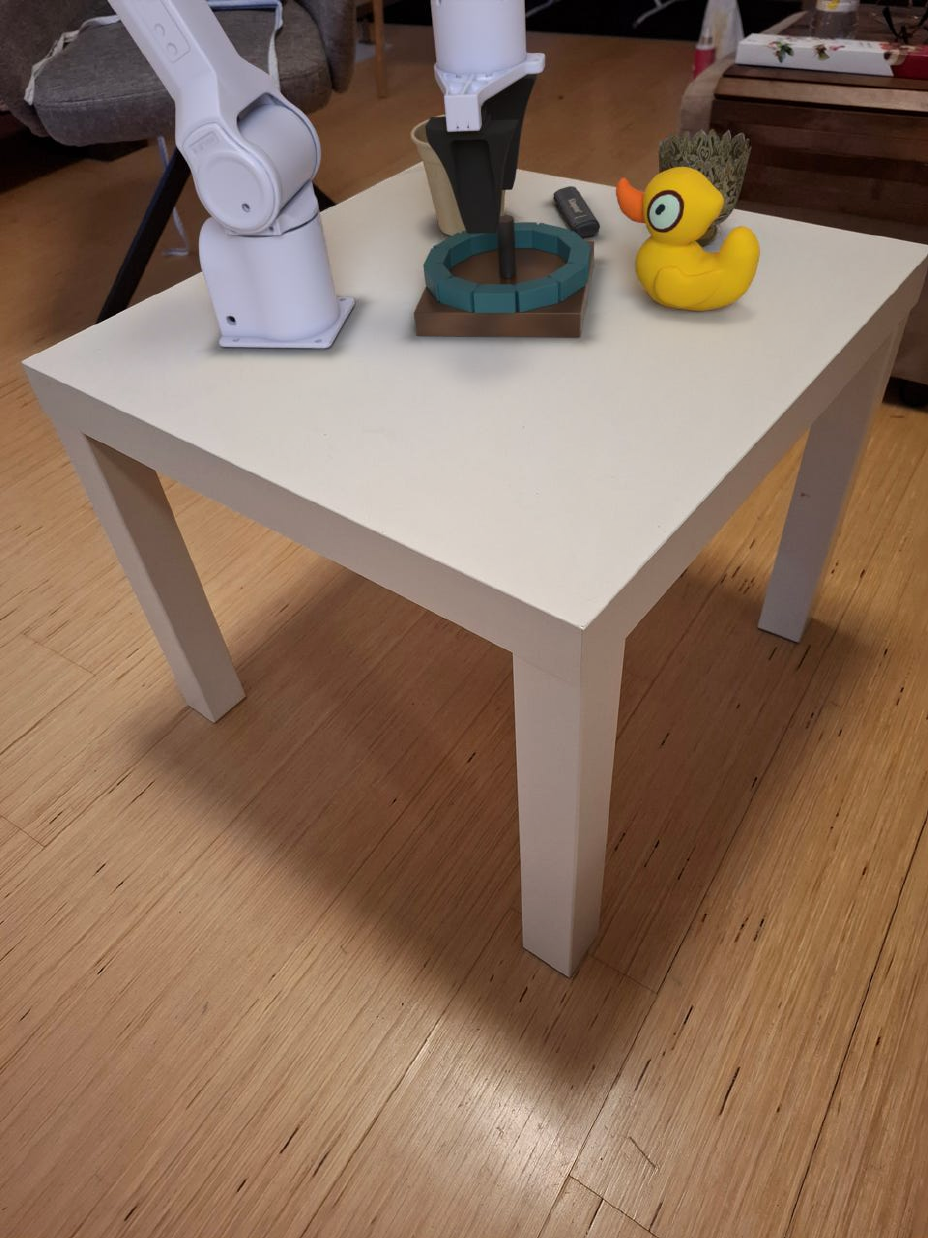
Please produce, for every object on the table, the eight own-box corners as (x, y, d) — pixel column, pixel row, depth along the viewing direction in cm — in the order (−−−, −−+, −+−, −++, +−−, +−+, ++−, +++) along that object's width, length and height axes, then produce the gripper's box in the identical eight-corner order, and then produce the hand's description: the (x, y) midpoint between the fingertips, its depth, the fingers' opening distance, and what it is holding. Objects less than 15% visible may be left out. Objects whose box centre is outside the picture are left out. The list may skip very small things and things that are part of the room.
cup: (738, 258, 74) (752, 157, 68) (650, 258, 76) (656, 159, 70) (737, 222, 79) (750, 126, 73) (654, 223, 81) (661, 128, 75)
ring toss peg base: (416, 336, 70) (405, 255, 65) (448, 264, 78) (440, 188, 74) (580, 337, 67) (581, 253, 63) (594, 263, 76) (595, 184, 71)
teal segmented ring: (411, 313, 68) (409, 293, 67) (445, 241, 77) (443, 222, 76) (581, 313, 66) (581, 293, 65) (595, 239, 75) (596, 220, 73)
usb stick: (551, 203, 86) (551, 186, 85) (578, 199, 86) (578, 182, 85) (573, 241, 80) (573, 224, 78) (601, 237, 80) (602, 219, 79)
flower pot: (402, 235, 84) (388, 137, 78) (461, 199, 89) (453, 104, 83) (480, 253, 79) (473, 151, 73) (538, 215, 84) (536, 116, 78)
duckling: (598, 306, 70) (601, 175, 63) (626, 278, 73) (632, 150, 66) (736, 333, 66) (756, 194, 59) (760, 301, 69) (782, 166, 62)
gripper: (525, -1, 47) (533, 252, 56) (555, -54, 57) (558, 169, 66) (398, 8, 48) (427, 253, 58) (449, -45, 58) (467, 172, 68)
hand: (491, 209), depth 62 cm, fingers open, 7 cm apart
